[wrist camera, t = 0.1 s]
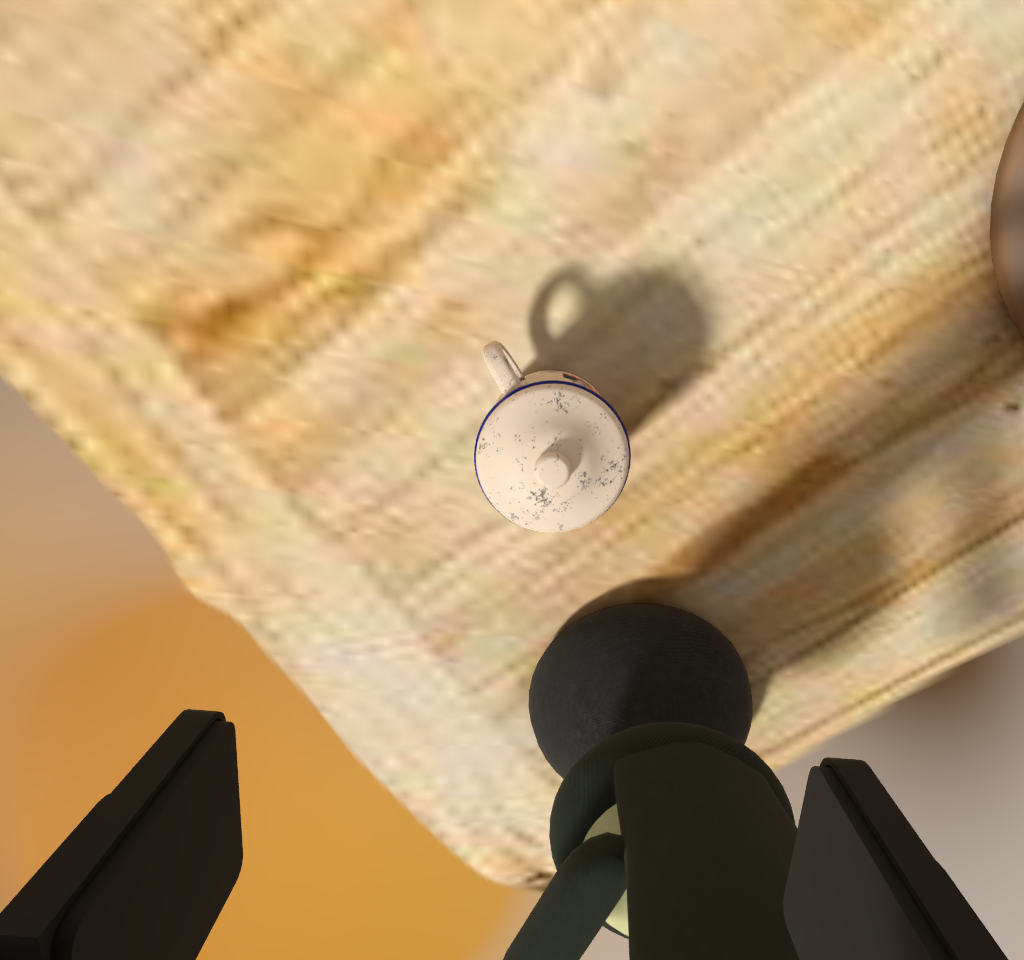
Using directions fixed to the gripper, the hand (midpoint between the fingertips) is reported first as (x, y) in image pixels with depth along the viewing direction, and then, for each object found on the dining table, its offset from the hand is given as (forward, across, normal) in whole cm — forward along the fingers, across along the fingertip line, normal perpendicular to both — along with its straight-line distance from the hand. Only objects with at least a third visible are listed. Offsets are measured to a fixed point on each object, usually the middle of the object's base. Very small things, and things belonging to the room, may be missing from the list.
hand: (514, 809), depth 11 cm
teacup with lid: (+38, 0, 0) cm, 38 cm away
